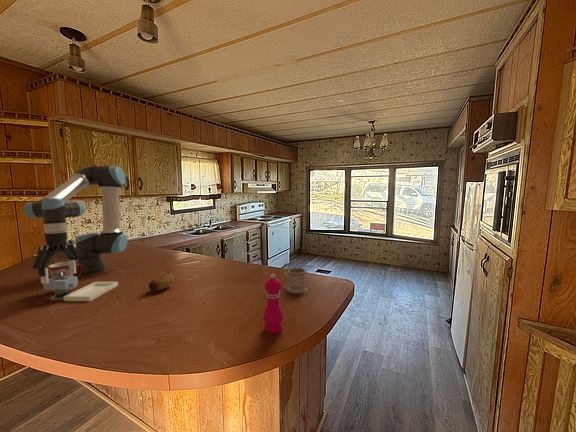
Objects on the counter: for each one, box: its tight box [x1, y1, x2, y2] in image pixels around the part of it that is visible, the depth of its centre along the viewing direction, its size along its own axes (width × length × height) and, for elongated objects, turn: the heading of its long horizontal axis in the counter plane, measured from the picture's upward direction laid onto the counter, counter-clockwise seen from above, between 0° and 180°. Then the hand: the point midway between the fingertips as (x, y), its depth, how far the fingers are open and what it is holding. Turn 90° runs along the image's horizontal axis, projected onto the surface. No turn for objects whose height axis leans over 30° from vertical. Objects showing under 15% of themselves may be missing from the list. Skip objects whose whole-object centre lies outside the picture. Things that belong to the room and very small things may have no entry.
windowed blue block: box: [42, 275, 79, 291], centre depth 115 cm, size 12×6×4 cm, turn 89°
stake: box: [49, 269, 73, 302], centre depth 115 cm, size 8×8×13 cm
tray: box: [63, 281, 119, 302], centre depth 120 cm, size 18×12×2 cm, turn 179°
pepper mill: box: [262, 273, 284, 334], centre depth 88 cm, size 7×7×20 cm
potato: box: [148, 270, 174, 292], centre depth 125 cm, size 8×13×8 cm
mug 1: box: [48, 261, 82, 294], centre depth 124 cm, size 13×9×14 cm
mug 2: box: [282, 262, 308, 294], centre depth 125 cm, size 14×10×12 cm
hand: (59, 278), depth 114 cm, fingers open, 13 cm apart
